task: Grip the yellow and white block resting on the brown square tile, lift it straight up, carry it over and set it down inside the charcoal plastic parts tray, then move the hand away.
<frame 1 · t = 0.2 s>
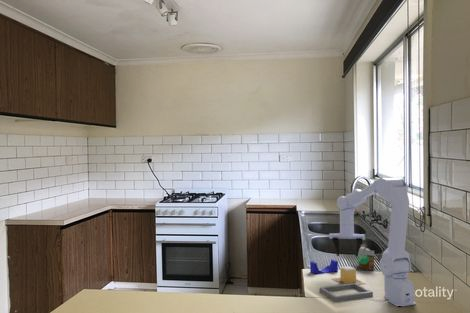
hand: (347, 255, 145), 10 cm above the counter, tool pointing down, fingers open, 7 cm apart
brown square tile: (348, 283, 138), on the counter
yellow and white block: (348, 281, 138), point 1 cm above the counter, touching brown square tile
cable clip: (323, 274, 151), on the counter
food container: (363, 269, 158), on the counter
parts tray: (345, 296, 125), on the counter
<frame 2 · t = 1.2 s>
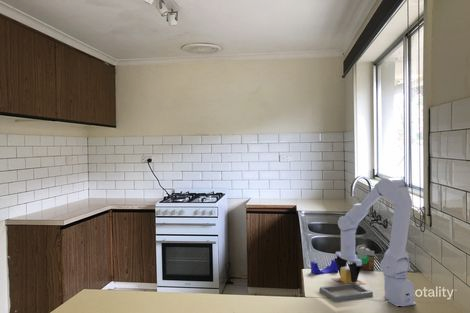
hand: (348, 278, 138), 2 cm above the counter, tool pointing down, fingers open, 7 cm apart
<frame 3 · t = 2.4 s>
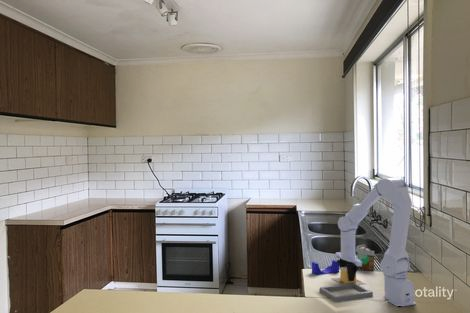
hand: (348, 279, 138), 2 cm above the counter, tool pointing down, fingers closed on yellow and white block, 3 cm apart
yellow and white block: (348, 281, 138), point 1 cm above the counter, touching brown square tile, gripper
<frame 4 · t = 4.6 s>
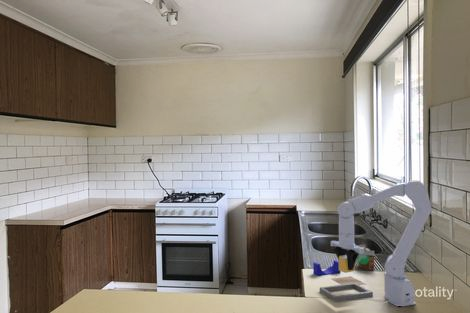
hand: (346, 268, 130), 9 cm above the counter, tool pointing down, fingers closed on yellow and white block, 3 cm apart
yellow and white block: (346, 270, 130), point 8 cm above the counter, touching gripper
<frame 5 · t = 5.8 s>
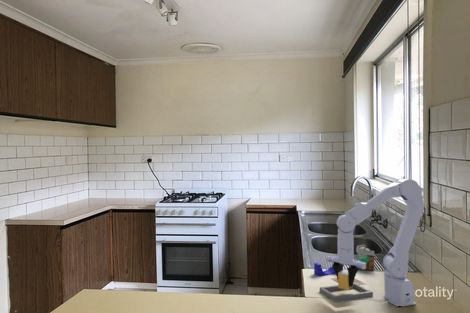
hand: (345, 284, 125), 4 cm above the counter, tool pointing down, fingers closed on yellow and white block, 3 cm apart
yellow and white block: (345, 287, 125), point 3 cm above the counter, touching gripper
when the fingers open (3 cm above the counter, at t = 6.8 s): yellow and white block drops 2 cm, resting on parts tray.
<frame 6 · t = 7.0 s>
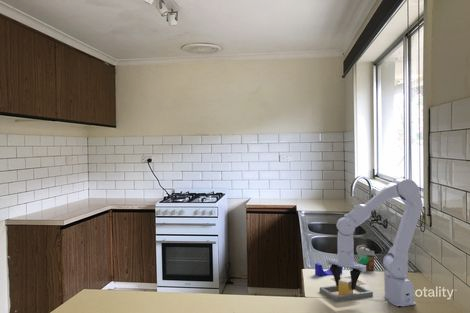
hand: (345, 287, 125), 3 cm above the counter, tool pointing down, fingers open, 5 cm apart
yellow and white block: (345, 294, 125), point 1 cm above the counter, touching parts tray
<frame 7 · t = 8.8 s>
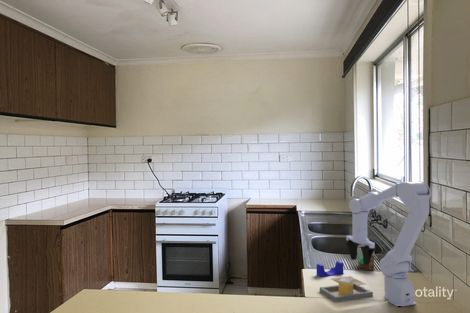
hand: (359, 261, 137), 9 cm above the counter, tool pointing down, fingers open, 7 cm apart
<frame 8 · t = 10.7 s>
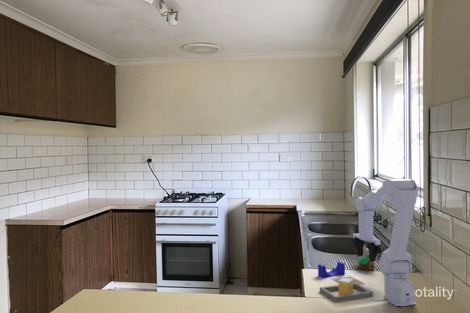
hand: (366, 258, 142), 9 cm above the counter, tool pointing down, fingers open, 7 cm apart
at the end: yellow and white block inside the target area on the parts tray (0.1 cm from its centre), point 0.6 cm above the parts tray's base; the gripper is holding nothing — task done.
